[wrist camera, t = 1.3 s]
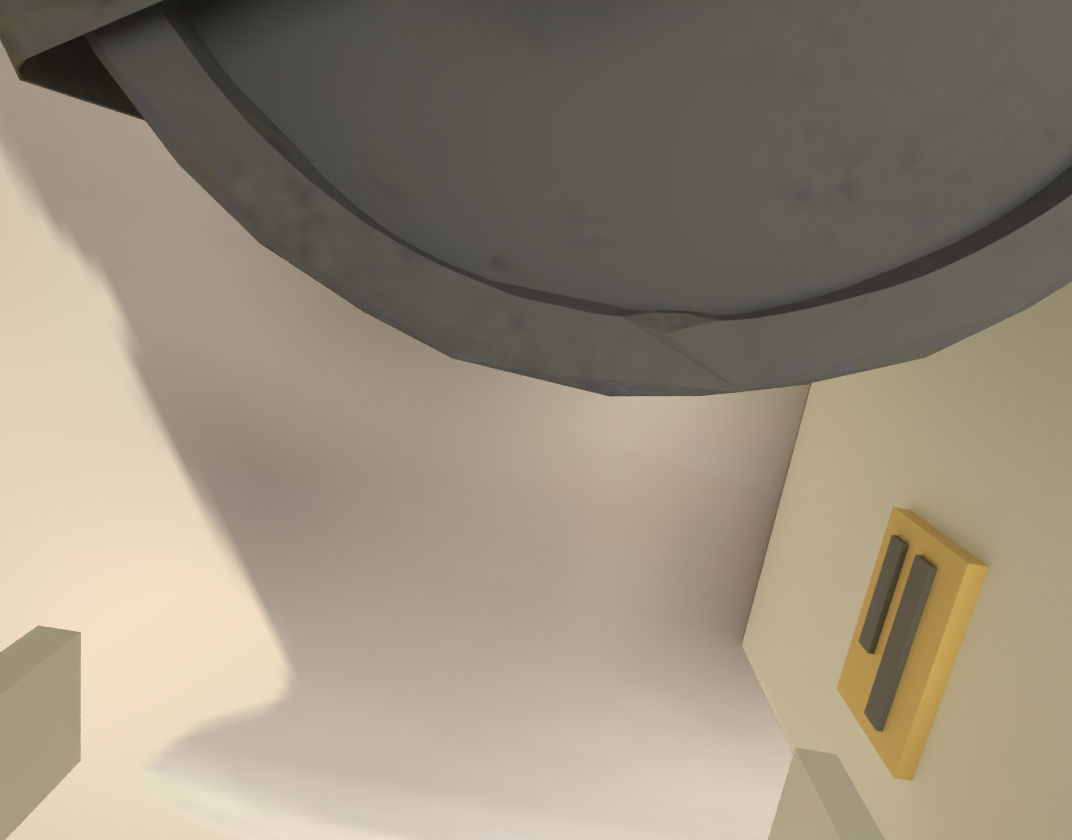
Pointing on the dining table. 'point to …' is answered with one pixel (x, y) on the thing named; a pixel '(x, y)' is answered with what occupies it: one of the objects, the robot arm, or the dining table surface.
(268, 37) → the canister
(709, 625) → the dining table surface
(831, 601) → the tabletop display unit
